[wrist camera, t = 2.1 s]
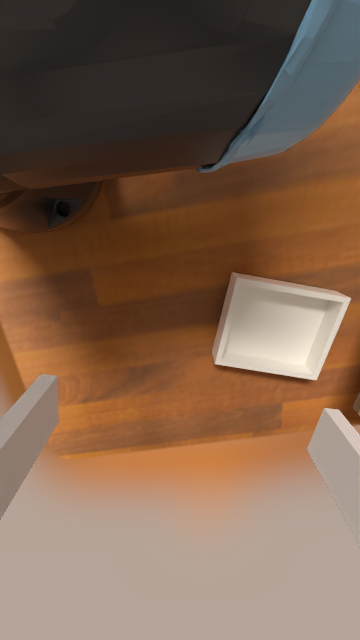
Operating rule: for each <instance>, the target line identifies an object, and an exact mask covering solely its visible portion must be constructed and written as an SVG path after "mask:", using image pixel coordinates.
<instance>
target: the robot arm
mask: <svg viewBox="0 0 360 640" xmlns="http://www.w3.org/2000/svg"><path fill="white" fill-rule="evenodd" d="M359 80H360V0H0V227H2V228H5V229H8V230H13V231H18V232H27V233H35V232H46V231H53V230H57V229H60V228H63V227H66V226H68V225H70V224H71V223H73V222H75V221H76V220H78V219H79V218H80V217H81V216H82V215H83V214H84V213H85V212H86V211H87V210H88V209H89V208H90V206H91V205H92V204H93V202H94V200H95V199H96V197H97V195H98V192H99V190H100V187H101V184H102V181H103V180H109V179H117V178H125V177H132V176H140V175H148V174H155V173H163V172H171V171H178V170H186V169H194V168H195V169H196V171H198V172H202V173H207V172H213V171H215V170H217V169H219V168H221V167H223V166H226V165H227V164H229V163H235V162H240V161H246V160H251V159H257V158H263V157H268V156H273V155H277V154H279V153H282V152H284V151H286V150H288V149H289V148H291V147H292V146H293V145H295V144H297V143H298V142H300V141H302V140H304V139H306V138H307V137H308V136H309V135H310V134H311V133H313V132H315V131H316V130H317V129H318V128H319V127H320V126H321V125H322V124H323V123H324V122H325V121H326V120H327V119H328V118H329V117H330V116H331V115H332V114H333V113H334V112H335V110H336V109H337V108H338V107H339V106H340V105H341V103H342V102H343V101H344V100H345V99H346V97H347V96H348V95H349V94H350V92H351V91H352V90H353V88H354V87H355V86H356V84H357V83H358V81H359ZM58 422H59V414H58V381H57V376H54V375H46V374H40V376H39V377H38V378H37V379H36V380H35V381H34V382H33V384H32V385H31V386H30V387H29V388H28V389H27V390H26V391H25V393H24V394H23V395H22V396H21V397H20V398H19V399H18V401H17V402H16V403H15V404H14V405H13V406H12V407H11V408H10V410H9V411H8V412H7V413H6V414H5V415H4V416H3V417H2V419H1V420H0V519H1V517H2V516H3V514H4V513H5V511H6V509H7V508H8V506H9V504H10V502H11V501H12V499H13V498H14V496H15V494H16V493H17V491H18V489H19V487H20V486H21V484H22V482H23V481H24V479H25V477H26V476H27V474H28V472H29V471H30V469H31V467H32V466H33V464H34V462H35V461H36V459H37V457H38V455H39V454H40V452H41V450H42V449H43V447H44V445H45V444H46V442H47V440H48V439H49V437H50V435H51V434H52V432H53V430H54V429H55V427H56V425H57V424H58ZM307 450H308V452H309V454H310V456H311V458H312V460H313V461H314V463H315V465H316V467H317V469H318V471H319V473H320V475H321V476H322V478H323V480H324V482H325V484H326V485H327V488H328V489H329V491H330V493H331V495H332V496H333V499H334V501H335V502H336V504H337V506H338V508H339V510H340V512H341V514H342V515H343V517H344V519H345V521H346V523H347V525H348V527H349V529H350V530H351V532H352V534H353V536H354V538H355V540H356V542H357V543H358V545H359V547H360V435H359V434H358V433H357V431H356V430H355V429H354V428H353V426H352V425H351V424H350V423H349V422H348V420H347V419H346V418H345V417H344V415H343V414H342V413H341V412H340V410H337V409H329V408H324V409H323V412H322V414H321V417H320V419H319V421H318V424H317V426H316V429H315V431H314V434H313V436H312V438H311V441H310V443H309V446H308V448H307Z"/></svg>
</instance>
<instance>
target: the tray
mask: <svg viewBox="0 0 360 640" xmlns="http://www.w3.org/2000/svg"><path fill="white" fill-rule="evenodd" d="M350 300H351V298H350V297H348V296H346V295H344V294H341V293H339V292H337V291H335V290H329V289H324V288H318V287H313V286H307V285H301V284H296V283H290V282H285V281H279V280H274V279H268V278H263V277H257V276H252V275H246V274H241V273H235V272H232V273H231V277H230V281H229V285H228V289H227V293H226V297H225V301H224V305H223V309H222V313H221V317H220V321H219V325H218V329H217V333H216V337H215V341H214V345H213V349H212V354H213V359H214V363H215V364H217V365H223V366H230V367H236V368H242V369H248V370H255V371H261V372H267V373H273V374H280V375H286V376H292V377H298V378H305V379H311V380H317V378H318V376H319V373H320V371H321V369H322V366H323V364H324V361H325V359H326V357H327V354H328V352H329V350H330V347H331V345H332V343H333V340H334V338H335V335H336V333H337V331H338V328H339V326H340V324H341V321H342V319H343V317H344V314H345V312H346V309H347V307H348V305H349V302H350Z"/></svg>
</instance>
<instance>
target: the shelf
mask: <svg viewBox="0 0 360 640" xmlns="http://www.w3.org/2000/svg"><path fill="white" fill-rule="evenodd" d="M352 408H353V409H354V410H355V411H356V412H357V413H358V414H359V416H360V393H359V395H358V397H357V399H356V401H355V403H354V405H353V407H352Z"/></svg>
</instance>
